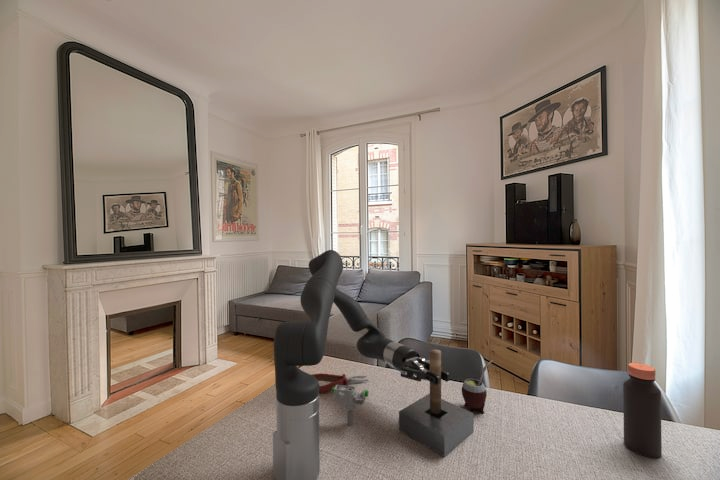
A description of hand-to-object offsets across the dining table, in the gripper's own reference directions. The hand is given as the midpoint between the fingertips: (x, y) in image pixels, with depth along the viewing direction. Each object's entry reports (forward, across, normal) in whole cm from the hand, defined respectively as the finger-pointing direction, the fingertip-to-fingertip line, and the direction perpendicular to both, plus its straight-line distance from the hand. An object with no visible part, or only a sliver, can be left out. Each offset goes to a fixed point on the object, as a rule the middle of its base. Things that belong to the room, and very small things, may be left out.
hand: (443, 379), depth 79 cm
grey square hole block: (-3, 0, +15) cm, 15 cm away
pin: (-3, 0, +10) cm, 10 cm away
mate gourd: (-4, +18, +15) cm, 24 cm away
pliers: (-40, -11, +16) cm, 44 cm away
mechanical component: (-18, -18, +15) cm, 29 cm away
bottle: (+30, +37, +15) cm, 50 cm away
